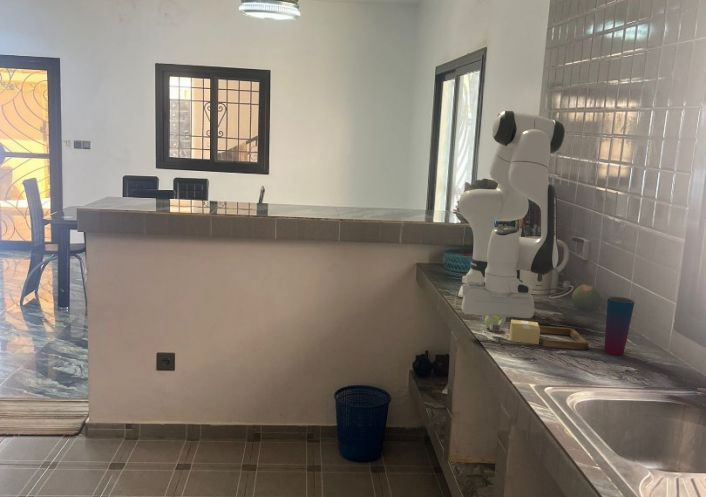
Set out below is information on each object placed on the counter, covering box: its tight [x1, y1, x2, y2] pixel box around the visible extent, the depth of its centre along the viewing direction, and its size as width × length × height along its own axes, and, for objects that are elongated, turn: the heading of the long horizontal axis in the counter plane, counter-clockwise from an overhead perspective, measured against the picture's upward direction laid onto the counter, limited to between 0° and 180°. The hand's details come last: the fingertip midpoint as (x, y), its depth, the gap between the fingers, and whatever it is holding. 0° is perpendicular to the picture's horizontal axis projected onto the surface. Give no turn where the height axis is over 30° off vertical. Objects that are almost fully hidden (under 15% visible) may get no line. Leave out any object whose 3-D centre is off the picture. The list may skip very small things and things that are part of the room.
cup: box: [603, 296, 636, 356], centre depth 176 cm, size 7×7×15 cm
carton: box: [509, 319, 541, 345], centre depth 184 cm, size 8×8×4 cm
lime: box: [484, 315, 501, 329], centre depth 192 cm, size 5×5×5 cm
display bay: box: [539, 325, 590, 350], centre depth 185 cm, size 14×12×2 cm
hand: (495, 330), depth 185 cm, fingers closed
